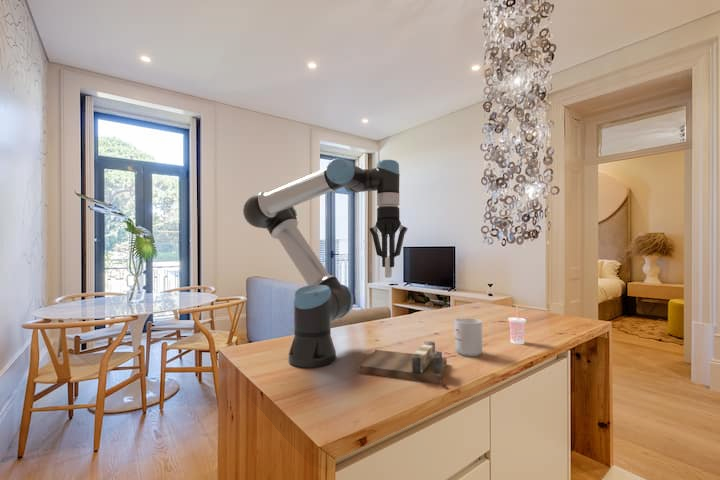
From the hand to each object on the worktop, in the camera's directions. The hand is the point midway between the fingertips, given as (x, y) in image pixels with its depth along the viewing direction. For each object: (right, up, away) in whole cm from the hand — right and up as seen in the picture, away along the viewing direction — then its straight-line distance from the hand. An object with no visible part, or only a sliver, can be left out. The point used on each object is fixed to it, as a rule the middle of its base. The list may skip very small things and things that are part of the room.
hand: (388, 277), depth 111 cm
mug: (+27, -27, +4) cm, 38 cm away
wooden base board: (+4, -26, -11) cm, 29 cm away
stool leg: (+9, -24, -14) cm, 29 cm away
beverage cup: (+51, -27, +16) cm, 60 cm away
